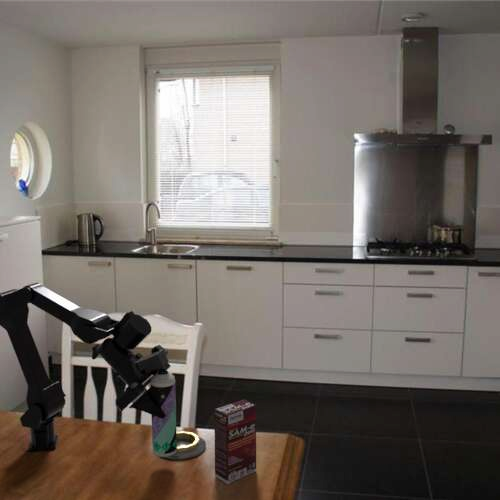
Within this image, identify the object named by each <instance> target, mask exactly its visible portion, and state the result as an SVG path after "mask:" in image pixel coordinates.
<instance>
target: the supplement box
mask: <svg viewBox="0 0 500 500" xmlns="http://www.w3.org/2000/svg"><path fill="white" fill-rule="evenodd" d="M256 472H257V405H256V404H255V403H253V402H251V401H248V400H246V399H241V400H238V401H236V402H235V401H234V402H233V403H230V404H226V405H224V406H221V407H217V408H215V409H214V477H215V478H217V479H219V480H220V481H221V482H223V483H225V484H226V485H230V484H231V483H233V482H235V481H237V480H240V479H242V478H244V477H246V476H248V475H250V474H253V473H256Z"/></svg>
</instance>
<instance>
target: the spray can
mask: <svg viewBox="0 0 500 500" xmlns="http://www.w3.org/2000/svg"><path fill="white" fill-rule="evenodd" d="M175 378H176V377H175V375H174V374H173V373H172V374H171V373H170V371H169V370H168V369H167V368H166V367H162V368H160V369H159V371H158V372H157V373H156V375H154V376H152V377H151V391H152V397H153V398H154V399H155V401H156V402H157V403H158V405H159V406H160V407H161V409H162V410H163V411H164V413H165V414H166V416H165V417H164V418H163V419H161V418H159V417H156V416H154V415H151V439H152V440H151V441H152V454H153V455H154V456H156V457H159V458H160V457H161V458H163V457H167V456H171V455H173V454H175V453H176V451H177V434H176V432H177V401H176V396H177V395H176V379H175Z"/></svg>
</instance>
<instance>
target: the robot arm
mask: <svg viewBox="0 0 500 500" xmlns="http://www.w3.org/2000/svg"><path fill="white" fill-rule="evenodd" d="M28 304H31V305H33V306H35V307H36V308H38V309H39V310H41V311H43V312H45V313H46V314H49V315H50V316H52V317H54V318H55V319H57V320H58V321H60V322H62V323H64V324H65V325H67V326H68V327H69V328H70V329H71V332H72V333H73V335H74V336H76V337H77V338H78V339H79V340H81V342H82V343H85V345H86V344H88V345H91V344H95V343H97V342H100V341H101V340H103V339H104V340H103V341H102V342H101V343H100V344H99V343H97V344H95V345H93V346H92V347H91V349H92V353H91V359H92V360H94V361H95V360H96V359H97V358H99V357H101V358H102V359H103V360H104V361H105V362H106V363H107V364H108V366H110V367H111V368H110V369H112V370H113V371H114V372H115V373H114V374H113V375H112V376H113V377H114V378H115V379H117V378H120V379H121V380H122V381H123V382H124V383H125V384H126V386H127V387H125V390H124V391H123V392H122V393H121V394H120V395H118V396H117V398H115V407H116V408H117V409H118V410H119V411H120V412H123V411H124V410H125V409H126V408H127V407H128V406H129V405H130V404H131V405H130V406H129V407H128V408H129V409H135V410H138V411H141V412H144V413H147V414H149V415H151V416H152V415H154V416H156V417H159V418H161V419H163V418H164V417H165V416H166V414H165V413H164V411H163V410H162V409H161V407H160V406H159V405H158V403H157V402H156V401H155V399H154V398H153V397H152V391H151V377H152V376H154V375H156V373H157V372H158V371H159V369H160V368H162V367H166V368H167V370H169V369H170V368H171V365H170V363H169V360H168V354H169V352H168V350H166V349H165V348H164V347H162V345H161V344H158V345H155V346H153V347H152V348H151V353H148V354H147V355H145V356H144V355H143V354H142V353H138V352H137V353H136V354H135V353H134V352H133V350H135V349H136V348H137V347H138V346H139V345H140V344H141V343H142V342H143V341H144V340H145V339H146V338H147V337H148V336H149V335H150V334H151V333H152V326H151V323H150V322H149V320H147V318H144V317H143V316H141V315H139V314H135V313H134V311H133V310H130V311H127V312H125V314H124V315H123V316H122V318H121V319H119V320H118V319H116V318H115V319H114V318H111V317H110V316H109V315H108V314H106V313H104V312H101V311H99V310H95V309H89V308H84V307H81V306H78V305H77V304H75V303H74V302H72V301H70V300H69V299H66V298H65V297H63V296H61V295H59V294H57V293H56V292H55V291H52V290H51V289H49V288H47V287H46V286H45V285H44V284H43V283H40V282H34V283H30V284H27V285H24V286H23V287H22V288H20V289H19V288H18V289H17V288H14V289H10V290H6V291H4V292H0V327H2V328H3V329H4V330H5V331H6V333H7V335H8V337H9V340H10V342H11V345H12V349H13V350H14V353H15V356H16V358H17V361H18V363H19V366H20V368H21V371H22V374H23V376H24V379H25V381H26V384H27V391H26V405H27V408H28V409H27V410H26V411H25V412H24V413H23V414H22V415H21V416H20V418H19V420H20V423H21V426H22V427H25V428H28V429H29V433H30V441H29V444H28V448H27V451H28V452H34V451H36V452H37V451H45V450H53V449H54V450H55V449H56V448H57V445H58V440H59V435H57V434H56V431H55V430H56V429H55V428H56V427H55V418H58V417H59V416H61V414H62V411H63V409H64V408H65V405H66V399H65V398H66V397H67V395H66V393H65V392H64V390H63V387H62V384H61V382H60V381H56V382H54V380H52V379H51V378H49V376H48V373H47V371H46V369H45V365H44V363H43V360H42V357H41V355H40V353H39V350H38V347H37V344H36V342H35V340H34V337H33V334H32V332H31V329H30V326H29V323H28V319H29V312H30V307H29V305H28ZM111 336H112V337H111ZM147 386H148V389H147Z"/></svg>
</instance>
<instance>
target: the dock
mask: <svg viewBox="0 0 500 500" xmlns="http://www.w3.org/2000/svg"><path fill="white" fill-rule="evenodd" d="M176 434H177V451H176V453H175V454H173V455H171V456H167V457H162V458H163V459H167V460H171V461H182V460H190V459H193V458H197V457H198V456H200V455H202V454H203V453H205V451H206V448H207V443H206V440H204V439H203V438H202V437H201V436H199V435H197V434H196V433H194V432H190V431H185V430H183V431H176Z"/></svg>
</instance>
